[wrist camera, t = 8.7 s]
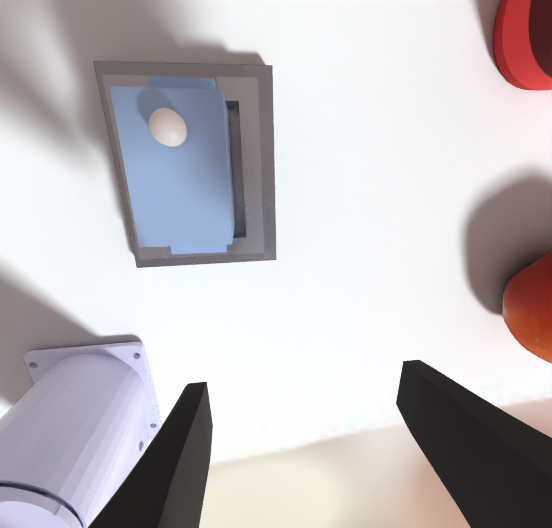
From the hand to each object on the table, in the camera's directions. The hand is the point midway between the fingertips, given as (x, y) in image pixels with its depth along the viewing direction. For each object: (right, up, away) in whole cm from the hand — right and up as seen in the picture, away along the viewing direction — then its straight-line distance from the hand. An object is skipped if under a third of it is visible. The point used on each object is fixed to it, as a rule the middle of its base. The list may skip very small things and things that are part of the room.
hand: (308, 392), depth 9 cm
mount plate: (-6, +10, +7) cm, 14 cm away
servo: (-6, +10, +6) cm, 13 cm away
